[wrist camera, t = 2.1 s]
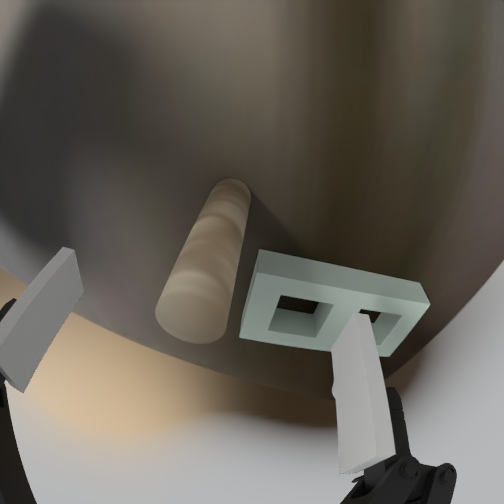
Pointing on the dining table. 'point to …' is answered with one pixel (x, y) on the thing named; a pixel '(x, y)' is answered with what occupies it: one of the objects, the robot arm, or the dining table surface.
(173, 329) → the peg
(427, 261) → the dining table surface
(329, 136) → the dining table surface
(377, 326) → the hole block
